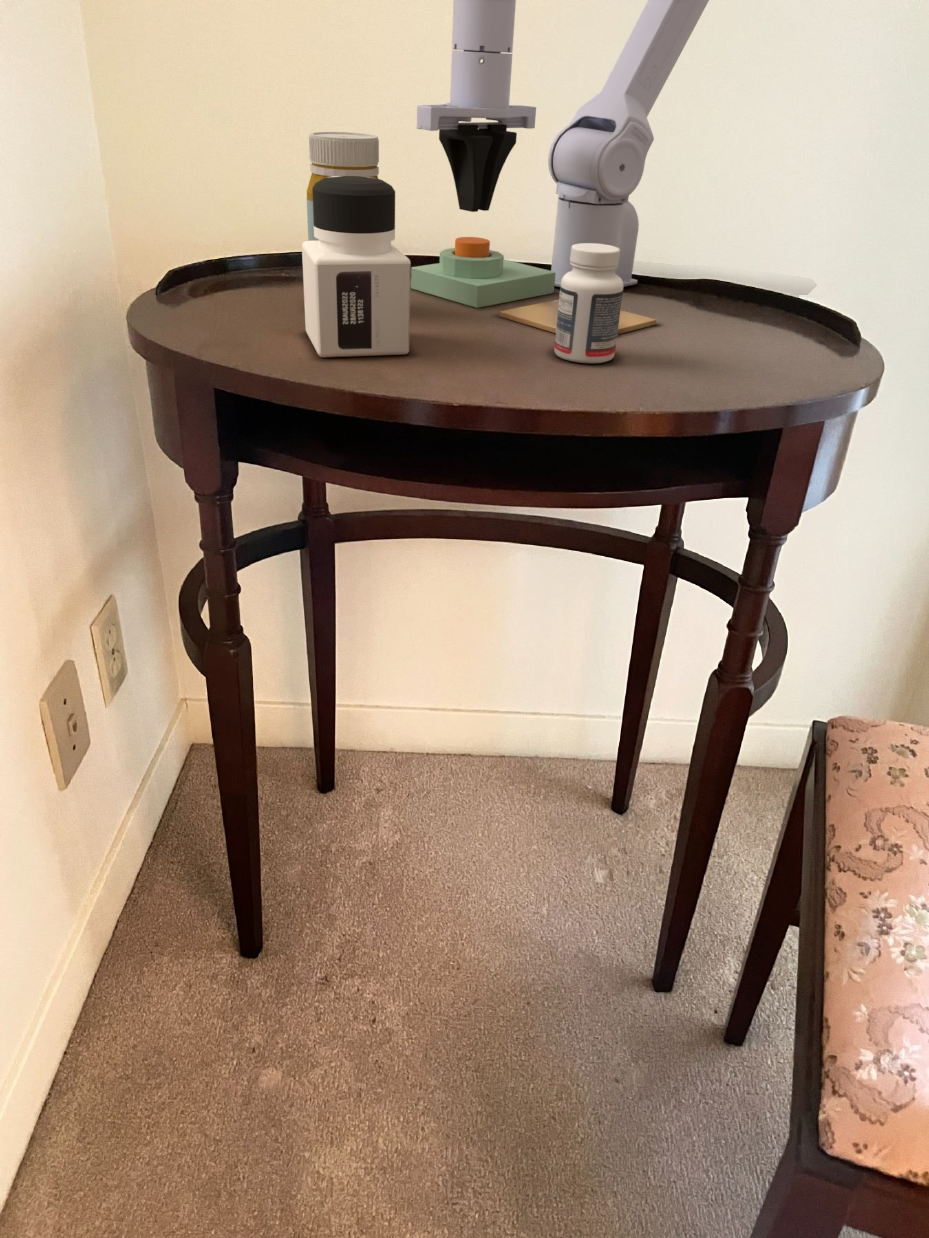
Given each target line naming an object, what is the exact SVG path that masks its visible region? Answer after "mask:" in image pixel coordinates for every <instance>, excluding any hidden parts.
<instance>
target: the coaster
mask: <svg viewBox="0 0 929 1238" xmlns="http://www.w3.org/2000/svg"><path fill="white" fill-rule="evenodd" d="M558 305H559V298H558V299H554V300H549V301H544V302H539V303H534V304H530V305H525V306H520V307H515V308H509V309H505V310H500V311H499V312H498V313H499V314H498V317H500V318H503V319H506V320H509V321H513V322H516V323H520V324H522V325H525V326H529V327H534V328H537V329H539V330H543V331H546V332H550V333H554V334H556V326H557V316H558ZM656 325H657V319H656V318H651V317H648V316H644V315H640V314H637V313H633V312H629V311H626V310H622V309H621V310H620V318H619V325H618V333H617V335H621V334H624V333H628V332H631V331H636V330H640V329H644V328H647V327H651V326H656Z"/></svg>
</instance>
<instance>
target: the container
mask: <svg viewBox="0 0 929 1238" xmlns="http://www.w3.org/2000/svg"><path fill="white" fill-rule="evenodd" d="M312 193H313V220H314V237H315V238H317V239H319V241H308V240H305V241H304V242H302V243H301V257H302V280H303V281H302V282H303V301H304V322H305V324H304V325H305V326H304V327H305V332H306V334H307V336H308V338H309V340H310V341H311V344H312V346H313V347H314V349H315V351H316V353H317V355H318V356H319V357H320V358H340V357H341V358H342V357H343V358H344V357H345V358H346V357H347V358H348V357H369V356H370V357H373V356H400V355H401V356H404V355H407V354H408V353H409V351H410V333H411V331H410V328H411V327H410V326H411V268H412V267H411V265H412V264H411V260H410V259H409V257H408V256H406V255H405V253H403V252H402V251H401V250H400V249H398V248H397V247H396V246H395V245H394V244H392V242H394V240H396V190H395V189H394V187H393V185H391V184H389V183H387V182H386V181H385V180H383V179H381V178H378V179H376V178H370V177H361V176H333V177H326V178H324V179H322V180H320V181H318V182H316V183H315V185H314V186H313V188H312Z"/></svg>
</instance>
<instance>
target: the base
mask: <svg viewBox="0 0 929 1238" xmlns="http://www.w3.org/2000/svg"><path fill="white" fill-rule="evenodd" d="M555 274H556V272H553V271H551V270H549V269H544V268H540V267H537V266H532V265H528V264H524V263H520V262H516V261H512V260H507V259H505V256H504V254H502V253H501V252H499V251H498V250H497V251H496V250H492V249H489V257H485V258H469V257H460V256H456V255H455V247H450V248H445V249H442V250H441V251H440V252H439V262H438V263H431V264H423V265H418V266H412V267H411V271H410V290H415V291H418V292H421V293H425V294H428V295H431V296H434V297H438V298H442V299H445V300H448V301H452V302H455V303H459V304H462V305H465V306H468V307H471V308H476V309H479V308H485V307H489V306H490V307H491V306H494V305H500V304H504V303H511V302H516V301H520V300H526V299H530V298H536V297H541V296H545V295H551V294H554V292H555V286H554V284H555Z"/></svg>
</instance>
